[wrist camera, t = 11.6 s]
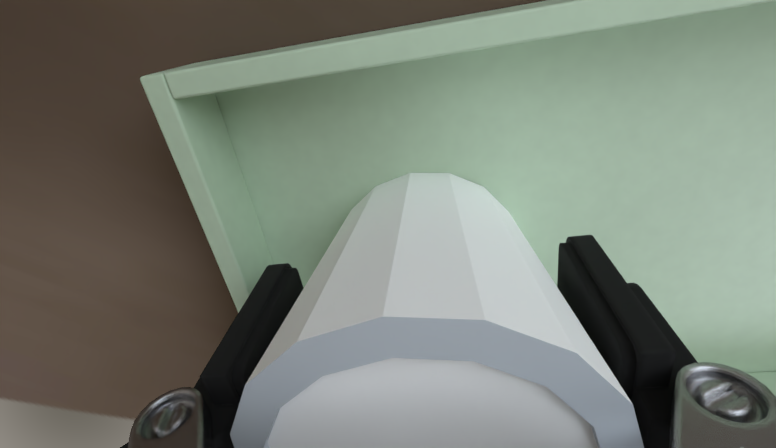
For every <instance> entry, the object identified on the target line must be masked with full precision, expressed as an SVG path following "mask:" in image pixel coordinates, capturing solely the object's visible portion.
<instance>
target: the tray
mask: <svg viewBox="0 0 776 448" xmlns="http://www.w3.org/2000/svg"><path fill="white" fill-rule="evenodd" d="M140 81H141V83H142V86H143V88H144V91H145V93H146V95H147V98H148V100H149V102H150V105H151V107H152V109H153V112H154V114H155V117H156V119H157V121H158V124H159V126H160V128H161V131H162V133H163V136H164V138H165V140H166V143H167V145H168V147H169V150H170V152H171V155H172V157H173V159H174V162H175V164H176V166H177V169H178V171H179V173H180V176H181V178H182V181H183V183H184V185H185V188H186V190H187V192H188V195H189V197H190V200H191V202H192V204H193V207H194V209H195V211H196V214H197V216H198V218H199V221H200V223H201V226H202V228H203V230H204V233H205V235H206V237H207V240H208V242H209V245H210V247H211V249H212V252H213V254H214V256H215V259H216V261H217V263H218V266H219V268H220V271H221V273H222V275H223V278H224V280H225V282H226V285H227V287H228V290H229V292H230V294H231V297H232V299H233V301H234V304H235V306H236V308H237V311H238V313H239V311H240V310H241V308H242V306H243V305H244V303H245V301H246V300H247V298H248V297H249V295H250V293H251V292H252V290H253V288H254V287H255V285H256V283H257V282H258V280H259V279H260V277H261V275H262V274H263V272H264V270H265V269H266V267H267V266H268V265H273V264H284V263H288V264H290V265H291V267H292V268H297V270H298V272H299V275H300V278H301V281H302V285H303V288H304V287H305V285H306V284H307V282H308V280H309V279H310V277H311V275H312V274H313V272H314V270H315V269H316V267H317V266H318V264H319V262H320V261H321V259H322V257H323V256H324V254H325V252H326V251H327V249H328V247H329V246H330V244H331V242H332V241H333V239H334V238H335V236H336V234H337V233H338V231H339V229H340V228H341V226H342V224H343V223H344V221H345V219H346V218H347V216H348V214H349V213H350V211H351V209H353V208H354V207H355V206H356V205H357V204H358V203H359V202H360V201H361V200H362V199H363V198H364V197H365V196H366V195H367V194H368V193H369V192H370V191H371V190H372V189H373V188H374V187H375V186H377V185H380V184H382V183H385V182H388V181H390V180H393V179H395V178H398V177H401V176H403V175H406V174H408V173H450V174H453V175H455V176H458V177H460V178H463V179H465V180H468V181H470V182H473V183H476V184H478V185H481V186H483V187H485V188H486V189H487V190H488V191H489V192H490V193H491V194H492V195H493V196H494V197H495V198H496V199H497V200H498V201H499V202H500V203H501V204H502V205H503V206H504V207H505V208H506V209H507V210H508V211H509V213H510V215H511V216H512V218H513V219H514V221H515V222H516V224H517V225H518V227H519V229H520V230H521V232H522V233H523V235H524V236H525V238H526V239H527V241H528V243H529V244H530V246H531V247H532V249H533V250H534V252H535V253H536V255H537V256H538V258H539V260H540V261H541V263H542V264H543V266H544V267H545V269H546V270H547V272H548V274H549V275H550V277H551V278H552V280H553V281H554V283H555V284H556V286H557V280H558V252H559V244H560V243H566V239H567V237H571V236H581V235H592V236H593V237H594V238H595V239H596V241H597V242H598V243H599V245H600V246H601V248H602V249H603V250H604V252H605V253H606V255H607V256H608V257H609V259H610V260H611V261H612V263H613V264H614V266H615V267H616V268H617V270H618V271H619V273H620V274H621V275H622V277H623V278H624V280H625V281H626V282H627V283H636V284H638V285H639V286H640V287H641V288H642V289H643V291H644V292H645V293H646V295H647V296H648V297H649V298H650V300H651V301H652V302H653V304H654V305H655V306H656V308H657V309H658V310H659V312H660V313H661V314H662V316H663V317H664V318H665V320H666V321H667V322H668V324H669V325H670V326H671V328H672V329H673V330H674V331H675V333H676V334H677V335H678V337H679V338H680V339H681V341H682V342H683V343H684V345H685V346H686V347H687V349H688V350H689V351H690V353H691V354H692V355H693V357H694V358H695V359H696V360H697V362H711V363H718V364H724V365H727V366H730V367H733V368H736V369H739V370H741V371H743V372H745V373H747V374H749V375H751V376H753V377H754V378H756V379H757V380H759V381H760V382H761V383H763V384H764V385H765V386H767V387H768V389H769V390H770V391H771V392H772V393H773V394H774V395H775V396H776V0H547V1H541V2H535V3H530V4H524V5H518V6H513V7H507V8H502V9H496V10H490V11H485V12H479V13H473V14H468V15H462V16H456V17H451V18H445V19H440V20H434V21H428V22H423V23H417V24H411V25H406V26H400V27H394V28H389V29H383V30H378V31H372V32H366V33H361V34H355V35H349V36H344V37H338V38H332V39H327V40H321V41H316V42H310V43H304V44H299V45H293V46H287V47H282V48H276V49H270V50H265V51H259V52H254V53H248V54H242V55H237V56H231V57H225V58H220V59H214V60H209V61H203V62H197V63H192V64H188V65H185V66H181V67H177V68H173V69H169V70H165V71H161V72H157V73H153V74H149V75H145V76H142V77H141V78H140Z"/></svg>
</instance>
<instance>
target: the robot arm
mask: <svg viewBox="0 0 776 448" xmlns="http://www.w3.org/2000/svg"><path fill="white" fill-rule="evenodd" d="M557 288H558V289H559V291H560V292H561V294H562V295H563V297H564V298H565V300H566V301H567V303H568V305H569V306H570V308H571V309H572V311H573V312H574V314H575V315H576V317H577V319H578V320H579V322H580V323H581V325H582V326H583V328H584V329H585V331H586V332H587V334H588V336H589V337H590V339H591V340H592V342H593V343H594V345H595V346H596V348H597V350H598V351H599V353H600V354H601V356H602V357H603V359H604V360H605V362H606V364H607V365H608V367H609V368H610V370H611V371H612V373H613V374H614V376H615V377H616V379H617V381H618V382H619V384H620V385H621V387H622V388H623V390H624V391H625V393H626V395H627V396H628V398H629V399H630V401H631V402H632V404H633V407H634V410H635V414H636V418H637V422H638V426H639V430H640V434H641V438H642V441H643V445H644V448H776V396H775V395H774V394H773V393H772V392H771V391H770V390H769V389H768V387H767V386H765V385H764V384H763V383H761V382H760V381H759V380H757V379H756V378H754V377H753V376H751V375H749V374H747V373H745V372H743V371H741V370H739V369H736V368H733V367H730V366H727V365H724V364H718V363H711V362H697V360H696V359H695V358H694V357H693V355H692V354H691V353H690V351H689V350H688V349H687V347H686V346H685V345H684V343H683V342H682V341H681V339H680V338H679V337H678V335H677V334H676V333H675V331H674V330H673V329H672V328H671V326H670V325H669V324H668V322H667V321H666V320H665V318H664V317H663V316H662V314H661V313H660V312H659V310H658V309H657V308H656V306H655V305H654V304H653V302H652V301H651V300H650V298H649V297H648V296H647V295H646V293H645V292H644V291H643V289H642V288H641V287H640V286H639V285H638V284H636V283H627V282H626V281H625V280H624V278H623V277H622V275H621V274H620V273H619V271H618V270H617V268H616V267H615V266H614V264H613V263H612V261H611V260H610V259H609V257H608V256H607V255H606V253H605V252H604V250H603V249H602V248H601V246H600V245H599V243H598V242H597V241H596V239H595V238H594V237H593V236H592V235H581V236H571V237H567V239H566V243H560V244H559V252H558V280H557ZM303 289H304V288H303V285H302V281H301V278H300V275H299V272H298V270H297V268H292V267H291V265H290V264H288V263H284V264H273V265H268V266H267V267H266V269H265V270H264V272H263V274H262V275H261V277H260V279H259V280H258V282H257V283H256V285H255V287H254V288H253V290H252V292H251V293H250V295H249V297H248V298H247V300H246V301H245V303H244V305H243V306H242V308H241V310H240V311H239V313H238V315H237V316H236V318H235V320H234V321H233V323H232V324H231V326H230V328H229V329H228V331H227V333H226V334H225V336H224V338H223V339H222V341H221V343H220V344H219V346H218V347H217V349H216V351H215V352H214V354H213V356H212V357H211V359H210V361H209V362H208V364H207V365H206V367H205V369H204V370H203V372H202V374H201V375H200V379H199V380H198V382H197V383H196V385H195V387H194V388H191V387H181V388H177V389H174V390H170V391H168V392H166V393H164V394H162V395H160V396H159V397H157V398H156V399H155V400H153V401H152V402H150V403H149V404H148V405H147V406H146V407H145V408H144V409H143V410H142V411H141V412H140V414H139V415H138V416H137V418H136V419H135V421H134V424H133V426H132V429H131V433H130V437H129V442H128V443H127V444H125V445H123V446H122V447H120V448H234V445H233V442H232V439H231V436H230V432H231V429H232V426H233V423H234V419H235V416H236V413H237V409H238V406H239V403H240V400H241V396H242V393H243V390H244V387H245V384H246V383H247V381H248V379H249V378H250V376H251V374H252V373H253V371H254V369H255V368H256V366H257V364H258V363H259V361H260V359H261V358H262V356H263V355H264V353H265V351H266V350H267V348H268V346H269V345H270V343H271V341H272V340H273V338H274V336H275V335H276V333H277V331H278V330H279V328H280V327H281V325H282V323H283V322H284V320H285V318H286V317H287V315H288V313H289V312H290V310H291V308H292V307H293V305H294V303H295V302H296V300H297V298H298V297H299V295H300V294H301V292H302V290H303Z"/></svg>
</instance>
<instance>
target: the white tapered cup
mask: <svg viewBox="0 0 776 448" xmlns="http://www.w3.org/2000/svg"><path fill="white" fill-rule="evenodd" d="M230 436H231V439H232V442H233V445H234V448H644V445H643V441H642V438H641V434H640V430H639V426H638V422H637V418H636V414H635V410H634V407H633V404H632V402H631V401H630V399H629V398H628V396H627V395H626V393H625V391H624V390H623V388H622V387H621V385H620V384H619V382H618V381H617V379H616V377H615V376H614V374H613V373H612V371H611V370H610V368H609V367H608V365H607V364H606V362H605V360H604V359H603V357H602V356H601V354H600V353H599V351H598V350H597V348H596V346H595V345H594V343H593V342H592V340H591V339H590V337H589V336H588V334H587V332H586V331H585V329H584V328H583V326H582V325H581V323H580V322H579V320H578V319H577V317H576V315H575V314H574V312H573V311H572V309H571V308H570V306H569V305H568V303H567V301H566V300H565V298H564V297H563V295H562V294H561V292H560V291H559V289H558V288H557V286H556V284H555V283H554V281H553V280H552V278H551V277H550V275H549V274H548V272H547V270H546V269H545V267H544V266H543V264H542V263H541V261H540V260H539V258H538V256H537V255H536V253H535V252H534V250H533V249H532V247H531V246H530V244H529V243H528V241H527V239H526V238H525V236H524V235H523V233H522V232H521V230H520V229H519V227H518V225H517V224H516V222H515V221H514V219H513V218H512V216H511V215H510V213H509V211H508V210H507V209H506V208H505V207H504V206H503V205H502V204H501V203H500V202H499V201H498V200H497V199H496V198H495V197H494V196H493V195H492V194H491V193H490V192H489V191H488V190H487V189H486V188H485V187H483V186H481V185H478V184H476V183H473V182H470V181H468V180H465V179H463V178H460V177H458V176H455V175H453V174H450V173H408V174H406V175H403V176H401V177H398V178H395V179H393V180H390V181H388V182H385V183H382V184H380V185H377V186H375V187H374V188H373V189H372V190H371V191H370V192H369V193H368V194H367V195H366V196H365V197H364V198H363V199H362V200H361V201H360V202H359V203H358V204H357V205H356V206H355V207H354V208H353V209H351V211H350V213H349V214H348V216H347V218H346V219H345V221H344V223H343V224H342V226H341V228H340V229H339V231H338V233H337V234H336V236H335V238H334V239H333V241H332V242H331V244H330V246H329V247H328V249H327V251H326V252H325V254H324V256H323V257H322V259H321V261H320V262H319V264H318V266H317V267H316V269H315V270H314V272H313V274H312V275H311V277H310V279H309V280H308V282H307V284H306V285H305V287H304V289H303V290H302V292H301V294H300V295H299V297H298V298H297V300H296V302H295V303H294V305H293V307H292V308H291V310H290V312H289V313H288V315H287V317H286V318H285V320H284V322H283V323H282V325H281V327H280V328H279V330H278V331H277V333H276V335H275V336H274V338H273V340H272V341H271V343H270V345H269V346H268V348H267V350H266V351H265V353H264V355H263V356H262V358H261V359H260V361H259V363H258V364H257V366H256V368H255V369H254V371H253V373H252V374H251V376H250V378H249V379H248V381H247V383H246V384H245V387H244V390H243V393H242V396H241V400H240V403H239V406H238V409H237V413H236V416H235V419H234V423H233V426H232V429H231V432H230Z"/></svg>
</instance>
